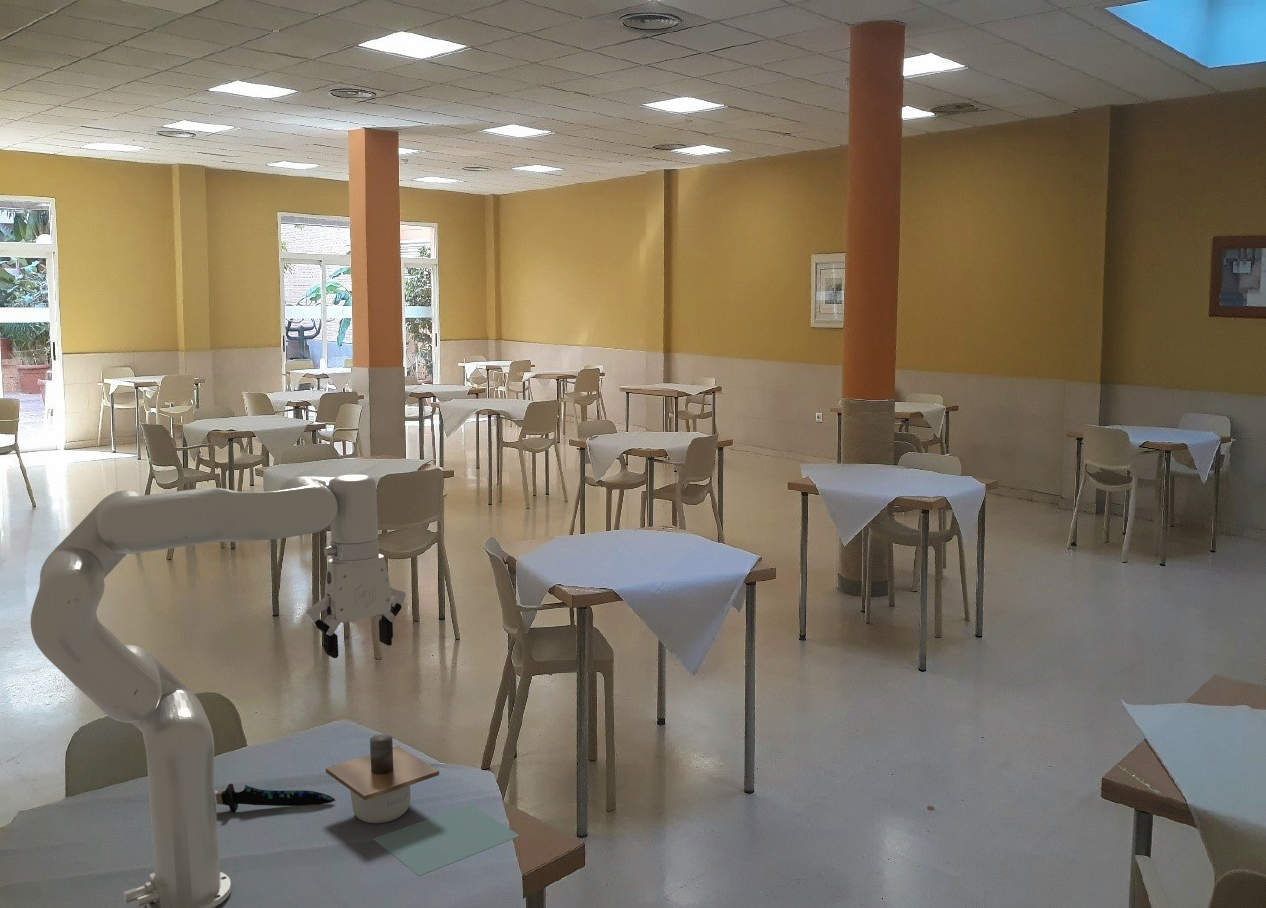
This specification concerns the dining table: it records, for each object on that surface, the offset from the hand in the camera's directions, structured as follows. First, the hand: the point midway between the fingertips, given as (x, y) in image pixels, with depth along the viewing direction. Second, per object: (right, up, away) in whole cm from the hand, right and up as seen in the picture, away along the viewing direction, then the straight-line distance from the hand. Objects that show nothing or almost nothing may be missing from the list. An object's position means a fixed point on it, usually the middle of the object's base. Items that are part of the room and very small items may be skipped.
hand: (359, 649), depth 179 cm
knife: (-26, -34, +21) cm, 47 cm away
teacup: (0, -34, +19) cm, 39 cm away
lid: (0, -26, +18) cm, 32 cm away
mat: (+13, -35, +9) cm, 39 cm away
